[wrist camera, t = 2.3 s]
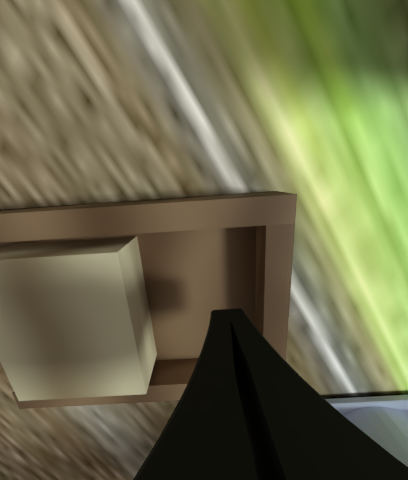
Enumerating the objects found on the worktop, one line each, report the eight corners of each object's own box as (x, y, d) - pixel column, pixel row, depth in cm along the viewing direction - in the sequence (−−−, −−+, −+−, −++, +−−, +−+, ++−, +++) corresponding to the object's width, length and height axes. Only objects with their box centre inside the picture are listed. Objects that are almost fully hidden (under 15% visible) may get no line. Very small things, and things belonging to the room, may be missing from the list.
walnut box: (277, 191, 10) (296, 194, 8) (270, 360, 13) (283, 394, 11) (-14, 210, 10) (-70, 218, 8) (48, 372, 13) (19, 408, 11)
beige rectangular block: (136, 235, 10) (117, 252, 8) (156, 353, 12) (146, 394, 10) (11, 244, 10) (-46, 262, 8) (53, 359, 12) (18, 401, 10)
